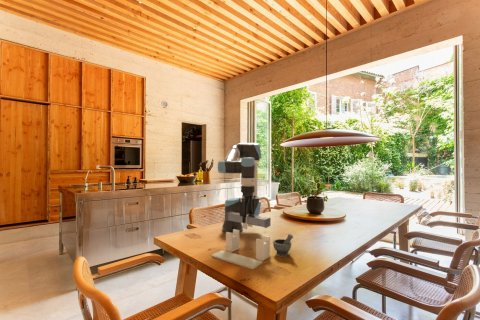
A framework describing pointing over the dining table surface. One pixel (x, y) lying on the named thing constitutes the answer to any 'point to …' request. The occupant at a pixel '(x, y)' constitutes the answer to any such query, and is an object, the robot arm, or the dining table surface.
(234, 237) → the beige bridge block
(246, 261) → the mat
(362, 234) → the dining table surface
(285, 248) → the mortar and pestle
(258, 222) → the rail
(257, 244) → the beige u-shaped block
